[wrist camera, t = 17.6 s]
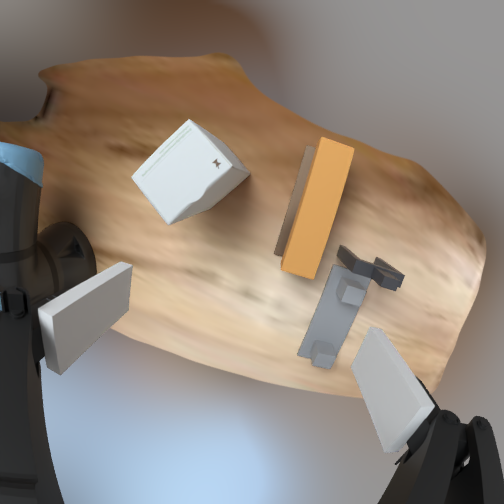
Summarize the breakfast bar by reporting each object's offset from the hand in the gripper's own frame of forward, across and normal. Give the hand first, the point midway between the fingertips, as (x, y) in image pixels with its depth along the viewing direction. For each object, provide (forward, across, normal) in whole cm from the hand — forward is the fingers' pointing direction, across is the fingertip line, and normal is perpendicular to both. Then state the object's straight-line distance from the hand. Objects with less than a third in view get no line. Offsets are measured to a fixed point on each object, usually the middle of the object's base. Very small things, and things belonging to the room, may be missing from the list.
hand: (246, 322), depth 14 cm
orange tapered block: (+22, +6, +6) cm, 23 cm away
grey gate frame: (+26, +14, +1) cm, 30 cm away
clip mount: (+26, +14, -9) cm, 31 cm away
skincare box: (+27, -8, +7) cm, 29 cm away
